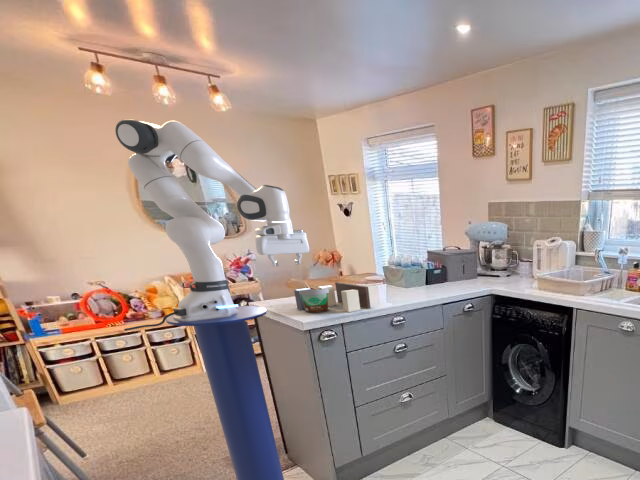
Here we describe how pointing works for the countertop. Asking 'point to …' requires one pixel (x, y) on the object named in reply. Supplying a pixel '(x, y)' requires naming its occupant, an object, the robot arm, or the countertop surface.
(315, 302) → the food container
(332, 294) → the cream block back
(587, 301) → the countertop surface
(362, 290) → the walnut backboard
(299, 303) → the grey block
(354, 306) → the cream block front
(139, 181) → the robot arm
